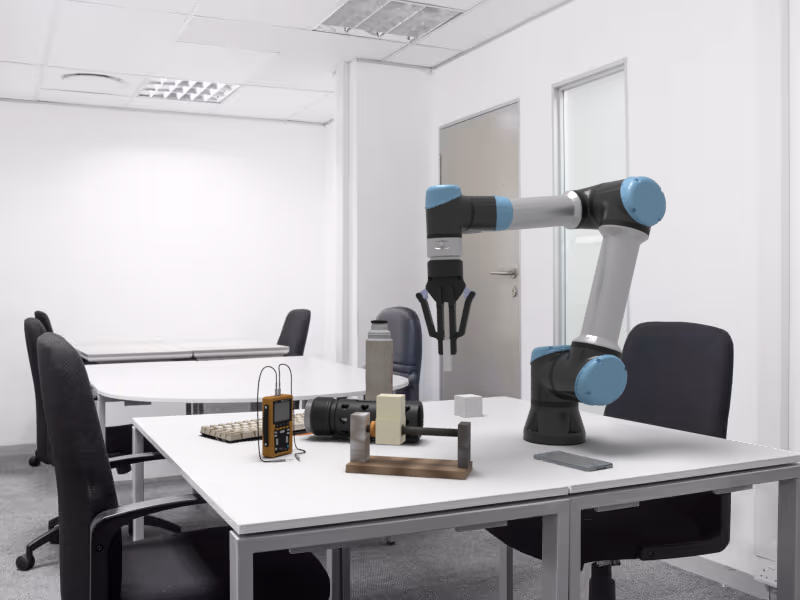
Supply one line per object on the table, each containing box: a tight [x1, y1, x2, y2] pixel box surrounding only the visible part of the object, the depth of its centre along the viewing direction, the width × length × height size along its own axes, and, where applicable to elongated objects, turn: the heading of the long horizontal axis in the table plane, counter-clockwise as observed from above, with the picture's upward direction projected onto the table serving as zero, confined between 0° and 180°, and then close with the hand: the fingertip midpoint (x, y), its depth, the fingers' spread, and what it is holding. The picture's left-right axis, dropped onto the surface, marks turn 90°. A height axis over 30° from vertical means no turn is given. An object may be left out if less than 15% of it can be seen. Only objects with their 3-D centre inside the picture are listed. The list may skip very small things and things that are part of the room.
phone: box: [533, 450, 614, 473], centre depth 167 cm, size 8×16×1 cm, turn 34°
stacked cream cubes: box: [375, 393, 406, 446], centre depth 159 cm, size 5×5×10 cm
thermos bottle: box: [364, 319, 394, 400], centre depth 228 cm, size 8×8×28 cm
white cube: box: [453, 393, 483, 419], centre depth 230 cm, size 6×6×6 cm
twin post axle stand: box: [345, 412, 474, 480], centre depth 158 cm, size 24×10×11 cm, turn 77°
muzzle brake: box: [303, 396, 425, 443], centre depth 190 cm, size 10×28×10 cm, turn 78°
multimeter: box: [256, 363, 306, 463], centre depth 170 cm, size 15×10×20 cm
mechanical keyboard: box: [198, 412, 314, 444], centre depth 202 cm, size 38×19×3 cm, turn 135°
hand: (448, 370), depth 166 cm, fingers closed
